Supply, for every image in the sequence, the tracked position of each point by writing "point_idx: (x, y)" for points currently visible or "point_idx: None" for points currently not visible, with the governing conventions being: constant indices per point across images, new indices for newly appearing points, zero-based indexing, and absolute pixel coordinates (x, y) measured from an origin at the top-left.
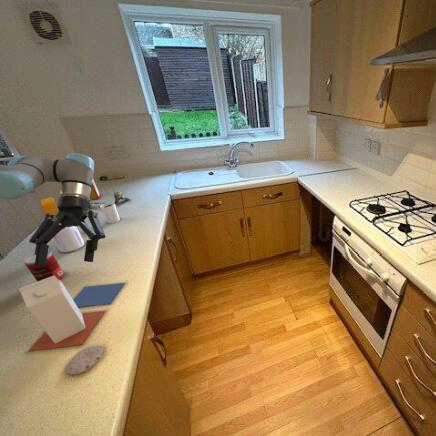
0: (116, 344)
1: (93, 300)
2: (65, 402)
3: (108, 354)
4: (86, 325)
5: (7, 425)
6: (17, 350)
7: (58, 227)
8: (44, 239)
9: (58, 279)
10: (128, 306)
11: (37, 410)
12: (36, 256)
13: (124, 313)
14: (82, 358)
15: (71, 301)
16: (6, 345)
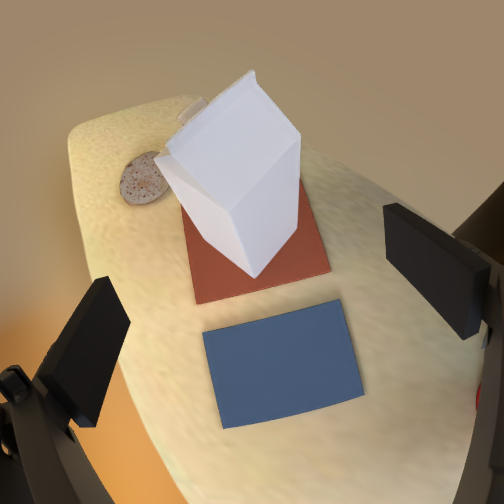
0: (109, 218)
1: (271, 340)
2: (137, 128)
3: (113, 198)
4: (211, 249)
5: (198, 95)
6: (329, 175)
7: (469, 493)
8: (497, 316)
9: (202, 185)
10: (142, 327)
11: (171, 113)
12: (426, 223)
13: (138, 301)
14: (149, 174)
15: (211, 226)
16: (371, 182)
